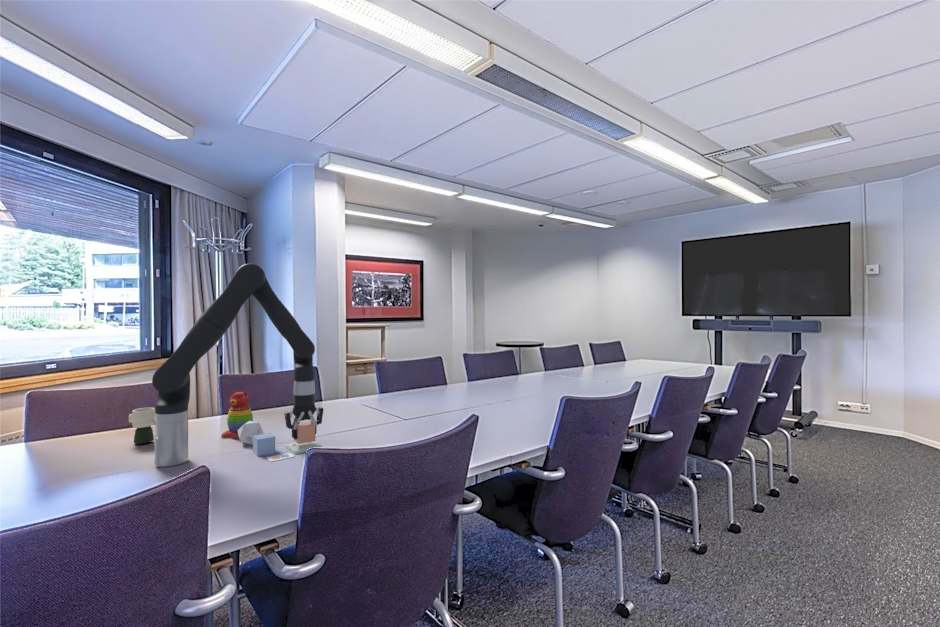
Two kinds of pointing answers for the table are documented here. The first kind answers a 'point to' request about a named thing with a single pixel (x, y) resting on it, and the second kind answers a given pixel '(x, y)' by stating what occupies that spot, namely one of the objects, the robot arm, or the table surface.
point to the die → (249, 432)
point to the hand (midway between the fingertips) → (304, 437)
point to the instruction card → (280, 457)
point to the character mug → (143, 424)
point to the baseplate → (302, 447)
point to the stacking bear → (237, 414)
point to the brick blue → (263, 444)
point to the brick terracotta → (305, 433)
